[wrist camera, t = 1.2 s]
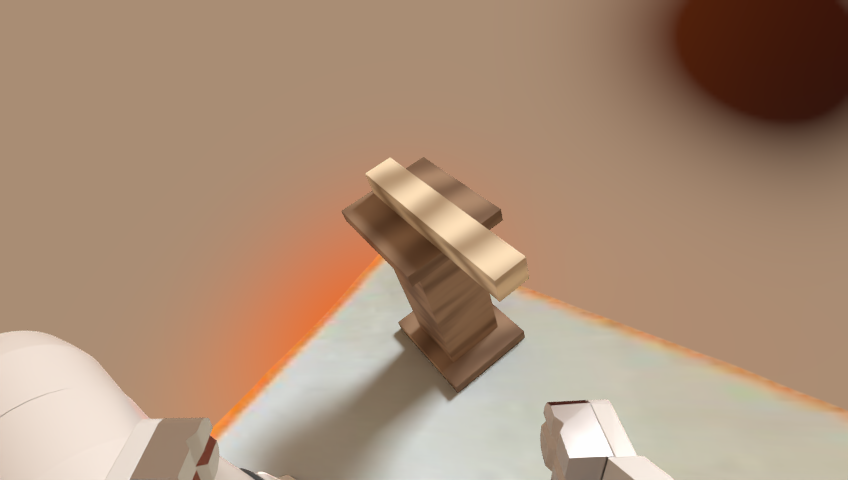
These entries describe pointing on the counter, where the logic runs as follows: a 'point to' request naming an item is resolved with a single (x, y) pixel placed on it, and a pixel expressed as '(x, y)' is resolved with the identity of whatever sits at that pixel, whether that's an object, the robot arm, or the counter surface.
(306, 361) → the counter surface
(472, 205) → the walnut pedestal
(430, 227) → the maple bar
